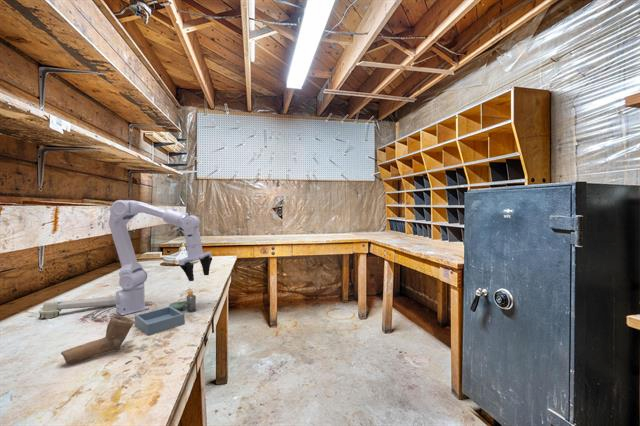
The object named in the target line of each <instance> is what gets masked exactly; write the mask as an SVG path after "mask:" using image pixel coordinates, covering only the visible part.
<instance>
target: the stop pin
mask: <svg viewBox="0 0 640 426" xmlns="http://www.w3.org/2000/svg"><path fill="white" fill-rule="evenodd" d="M196 297H197V295H195V294H193V295H189V296H188V295H186V300H187V305H186V312H187V313H188V314H189V313H190V314H192V313H195V312H197V298H196Z"/></svg>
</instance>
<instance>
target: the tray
mask: <svg viewBox="0 0 640 426" xmlns="http://www.w3.org/2000/svg"><path fill="white" fill-rule="evenodd" d="M185 324H186V323H185V313H183V311H182V312H180V311H178V310H176V309H174V308H173V307H171V306H169V305H168V306H165V307H162V308H158V309H155V310H151V311H147V312H143V313H139V314H134V326H135V327H136V328H137V329H139V330H140V331H142V332H143V333H144V334H145V335H147V336H150V335H153V334H157V333H160V332H163V331H166V330H170V329H173V328H176V327H178V326H179V327H180V326H182V325H185Z"/></svg>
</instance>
